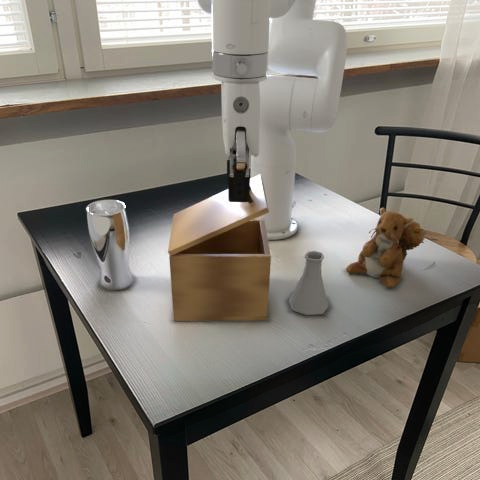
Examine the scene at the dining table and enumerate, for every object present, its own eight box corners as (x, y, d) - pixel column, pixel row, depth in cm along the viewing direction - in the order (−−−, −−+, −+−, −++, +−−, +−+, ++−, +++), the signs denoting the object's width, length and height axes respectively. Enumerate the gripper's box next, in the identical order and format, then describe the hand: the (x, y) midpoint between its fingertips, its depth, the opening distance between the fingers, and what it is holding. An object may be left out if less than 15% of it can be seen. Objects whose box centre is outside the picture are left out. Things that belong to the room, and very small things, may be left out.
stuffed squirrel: (342, 273, 98) (352, 211, 90) (380, 250, 106) (392, 190, 98) (386, 293, 92) (401, 228, 85) (423, 267, 101) (440, 205, 93)
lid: (262, 178, 84) (248, 146, 81) (269, 212, 73) (253, 177, 70) (175, 217, 88) (159, 189, 85) (170, 256, 77) (150, 225, 73)
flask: (327, 319, 86) (335, 268, 80) (285, 313, 87) (290, 263, 81) (329, 296, 91) (337, 247, 85) (290, 291, 92) (295, 243, 86)
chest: (260, 278, 96) (264, 218, 89) (266, 320, 85) (271, 256, 77) (178, 278, 95) (174, 218, 88) (173, 321, 84) (169, 256, 77)
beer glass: (100, 272, 96) (88, 199, 87) (136, 272, 97) (128, 198, 88) (95, 292, 91) (81, 216, 82) (133, 291, 91) (124, 215, 82)
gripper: (274, 79, 61) (266, 216, 72) (262, 55, 75) (257, 173, 85) (212, 78, 60) (214, 216, 71) (212, 55, 74) (213, 173, 85)
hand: (237, 191), depth 78 cm, fingers closed on lid, 6 cm apart
